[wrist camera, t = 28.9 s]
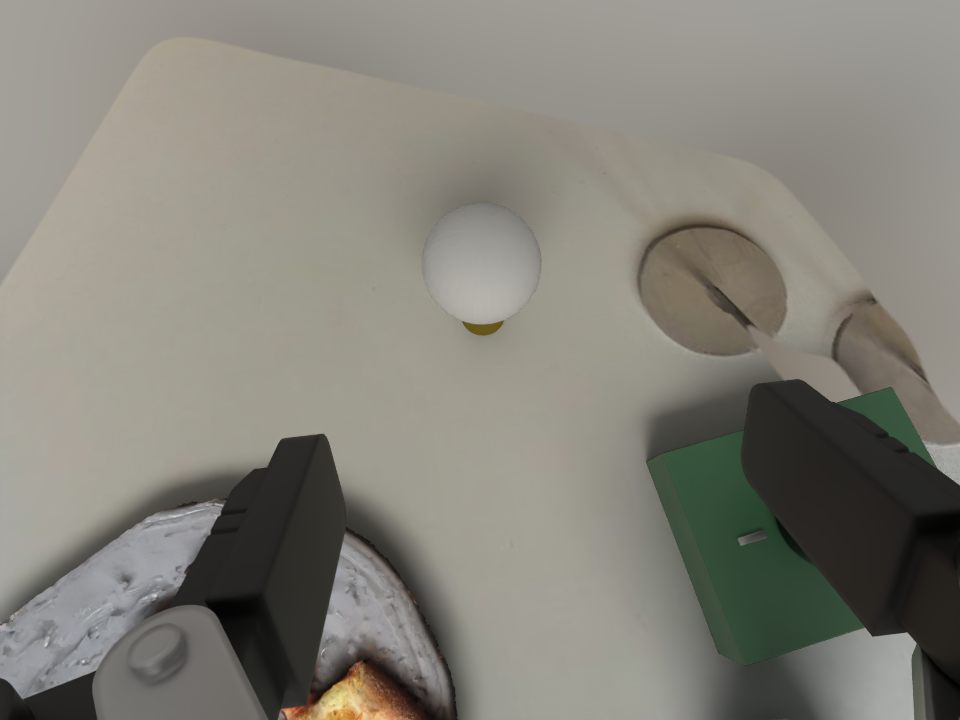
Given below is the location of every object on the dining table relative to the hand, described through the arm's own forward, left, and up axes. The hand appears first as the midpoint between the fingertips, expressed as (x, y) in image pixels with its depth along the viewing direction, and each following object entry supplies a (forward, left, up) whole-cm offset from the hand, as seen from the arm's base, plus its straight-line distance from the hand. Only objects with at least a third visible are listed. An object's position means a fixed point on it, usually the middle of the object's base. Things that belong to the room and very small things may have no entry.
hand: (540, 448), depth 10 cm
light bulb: (-2, -11, -20) cm, 23 cm away
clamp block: (-15, +5, -20) cm, 26 cm away
